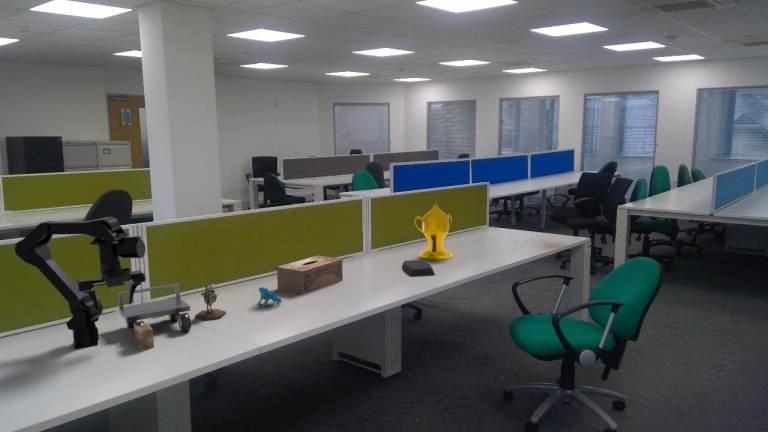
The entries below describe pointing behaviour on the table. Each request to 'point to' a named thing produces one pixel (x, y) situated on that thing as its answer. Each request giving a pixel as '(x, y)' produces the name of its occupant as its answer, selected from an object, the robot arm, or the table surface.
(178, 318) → the trolley
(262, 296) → the blue irregular piece
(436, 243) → the trophy cup
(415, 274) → the external hard drive
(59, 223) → the robot arm
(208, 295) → the robot figurine
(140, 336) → the block
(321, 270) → the tissue box cover
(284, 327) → the table surface
